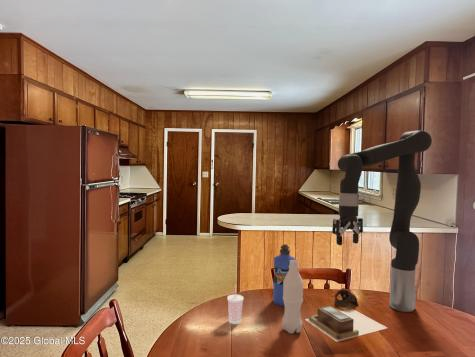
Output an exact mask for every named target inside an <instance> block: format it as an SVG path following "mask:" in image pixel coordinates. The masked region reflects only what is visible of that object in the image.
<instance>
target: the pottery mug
mask: <svg viewBox="0 0 475 357" xmlns="http://www.w3.org/2000/svg"><path fill="white" fill-rule="evenodd" d="M339 295H340V297H341V299H339V298H338V296H339ZM333 302H334V305H335V306H337V307H347V306H350V307H351V306H352V303H353V304H356V305H357V307H359V302H358V298H357V296H356V295H355V293H353V292H351V290H349V289H347V288H344V287H343V288H341V289H339V290H337V291H336V293H335V294H334V301H333ZM351 302H352V303H351Z"/></svg>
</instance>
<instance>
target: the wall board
mask: <svg viewBox="0 0 475 357" xmlns="http://www.w3.org/2000/svg"><path fill="white" fill-rule="evenodd" d="M340 312H342V313H343V314H345V315H347V316H349V317H350V318H352V319H354V323H353V331H349V332H345V333H341V334H338V333H337V332H335V331H334V330H332V329H331V328H329V327H328V326H326V325H325V324H323V323H322V322H320V321H319V320H318V314H314V315H309V316H308V318H305V319H304V320H305V321H306V322H308V323H309V324H311V325H312V326H313V327H315V328H316V329H318V330H320V331H321V332H322V333H324V334H325V336H328V337H329V338H330V339H332V340H334V341H335V342H336V343H338V342H342V341H345V340H349V339H353V338H356V337H360V336H363V335H367V334H371V333H375V332H378V331H383V330H386V329H388V327H387V326H385V325H384V324H382V323H379V322H377V321H376V320H374V319H372V318H370V317H368V316H367V315H365V314H362V313H360V312H359V311H357V310H355V309H353V308H350V309H346V310H341V311H340Z"/></svg>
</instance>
